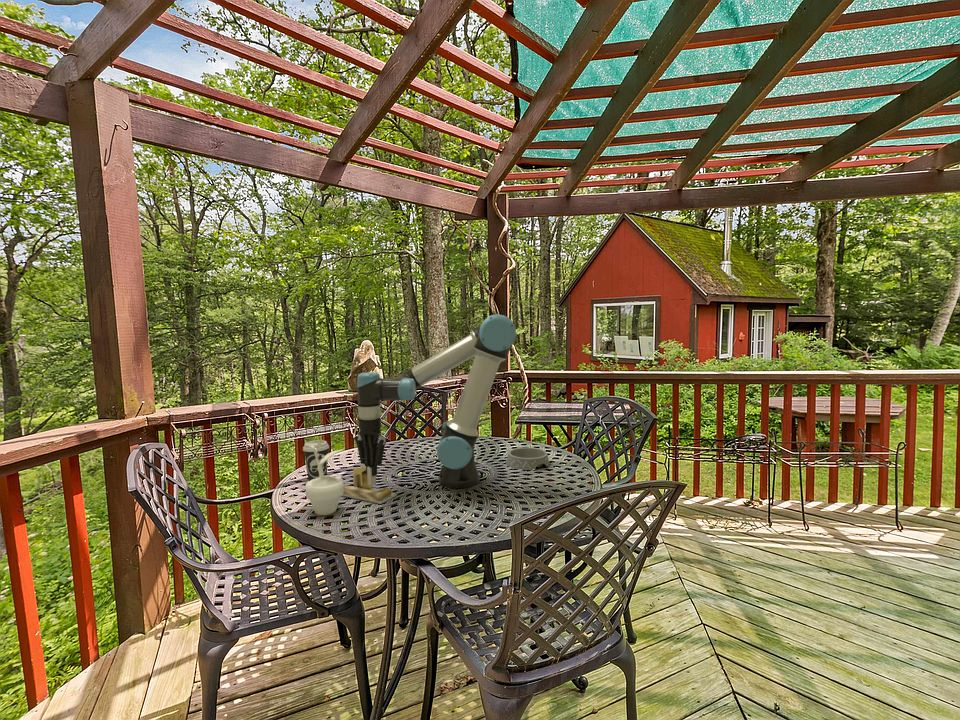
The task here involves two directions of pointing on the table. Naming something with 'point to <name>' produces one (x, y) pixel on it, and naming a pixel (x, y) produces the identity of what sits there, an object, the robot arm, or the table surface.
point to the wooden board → (372, 500)
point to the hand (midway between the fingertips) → (371, 484)
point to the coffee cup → (311, 458)
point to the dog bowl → (527, 458)
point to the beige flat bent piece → (366, 493)
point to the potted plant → (324, 487)
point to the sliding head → (361, 478)
